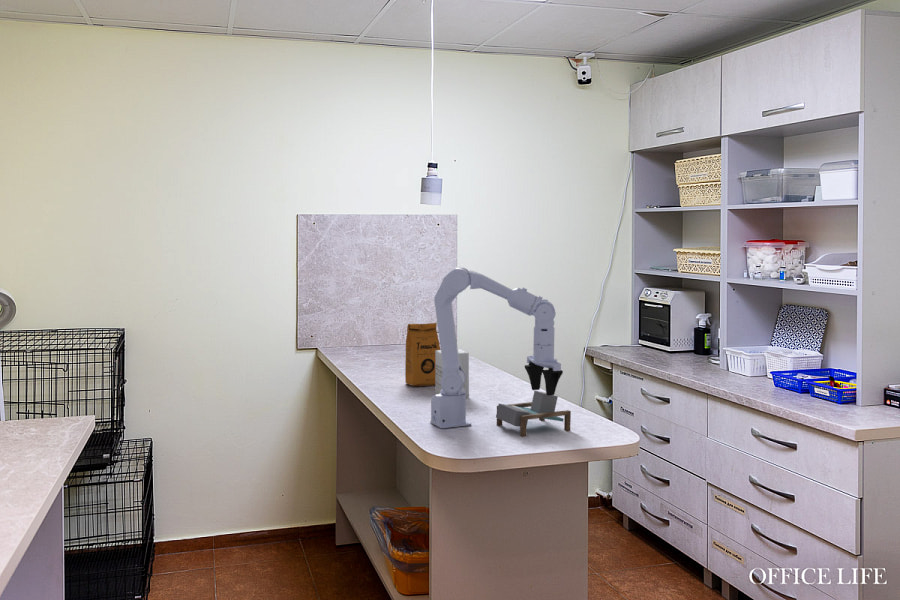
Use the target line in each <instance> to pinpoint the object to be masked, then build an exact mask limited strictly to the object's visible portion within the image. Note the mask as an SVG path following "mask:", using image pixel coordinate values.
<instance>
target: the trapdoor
mask: <svg viewBox="0 0 900 600" xmlns="http://www.w3.org/2000/svg"><path fill="white" fill-rule="evenodd" d="M497 406H498V409H497V408H496V415H495V418H496V419H497V418H498V419H500V420H502V422H504V423H507V424H509V425H512V426H513V427H520V416H521V415H530V414H539V413H537V412H534V411H532V410H531V407H517V406H513V405H512V406H511V405H508V404H505V403H498V404H497ZM543 419H545V420H548V421H549V420H550V421H555V422H556V421H557V422H563V423H564V418H562V417H561V416H555V417H547V418H543ZM528 422H529V420H527V423H528ZM527 427H528V425H527V426H526V428H527Z"/></svg>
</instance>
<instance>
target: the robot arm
mask: <svg viewBox="0 0 900 600" xmlns="http://www.w3.org/2000/svg"><path fill="white" fill-rule="evenodd" d="M469 286H470V287H469ZM468 287H469V290H477V289H482V290H484V291H486V292H489V293H491V294H493V295H496V296H498V297H500V298H502V299H504V300H507V303H508V306H509V307H510V308H512V309H515V310H517V311H519V312H522V313H523V314H525V315H528V316H529V317H530V316H531V317H532V316H533V317H534V327H533V350H532V351H533V353H532V355H527V356H526V364H525V365H524V370H525V371H526V373H527V375H528V378H529V381H530V382H529V383H530V388H531V390H532V391H540V388H541V382H542V375H543V378H544V384H545V393H546V394H547V395H548V396H549V395H555V393H556V390H557V385H558V383H559V380H560V379H561V377H562V375H563V373H564V371H563V370H562V364H561V363H560V362H558V359H557V358H555V331H556V329H555V327H554V326H555V320H554V319H555V317H556V315H557V314H556V313H557V312H556V310H555V309H556V308H555V306H554V304H553V303H552V302H551V301H549V300H548V299H543V296H541V295H538V296H537V295H536V294H533V293H531V292H529V291H528V289H527V288H525V287H522V288H520V287H516V288H514V289H513V288H512V289H511V288H510V287H507V286H505V285H504V284H501V283H499V282H498V281H495V280H494V279H492V278H491V277H488V276H486V275H485V274H482V273H480V272H477V271H474V270H468V269H467V268H465V267H461V266H458V267H456V268H453V269H452V270H451V271H449V272H448V273H447V274H446V275H445V276H444V277H443V279H442V281H441V283H440V285H439V288H438V289H437V291H436V293H435V295H434V297H433V299H434V300H433V301H434V302H433V303H434V307H435V314H436V315H435V316H436V323H437V333H438V339H439V343H440V349H441V354H442V372H443V375H442V379H441V388H442V389H441V391H440V394H437V395H436V394H433V395H432V397H431V402H430V421H429V423H431V425H435V426H436V427H439V428H440V429H449V428H456V427H457V428H458V427H466V426H472V422H469V421H467V419H466V418H467V417H466V416H467V401H466V400H467V398H466V391H465V390H464V388H463V384H464V383H465V379H466V376H465V373H464V371H463V370H462V368H461V364H460V360H459V355H458V349H459V348H458V340H457V334H456V326H455V319H454V311H453V304H452V303H453V301H454V300H455V299H456V298H457V297H458V296H459V294H460V293H462V292H463V291H466V289H467V288H468ZM545 368H546V369H545Z"/></svg>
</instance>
